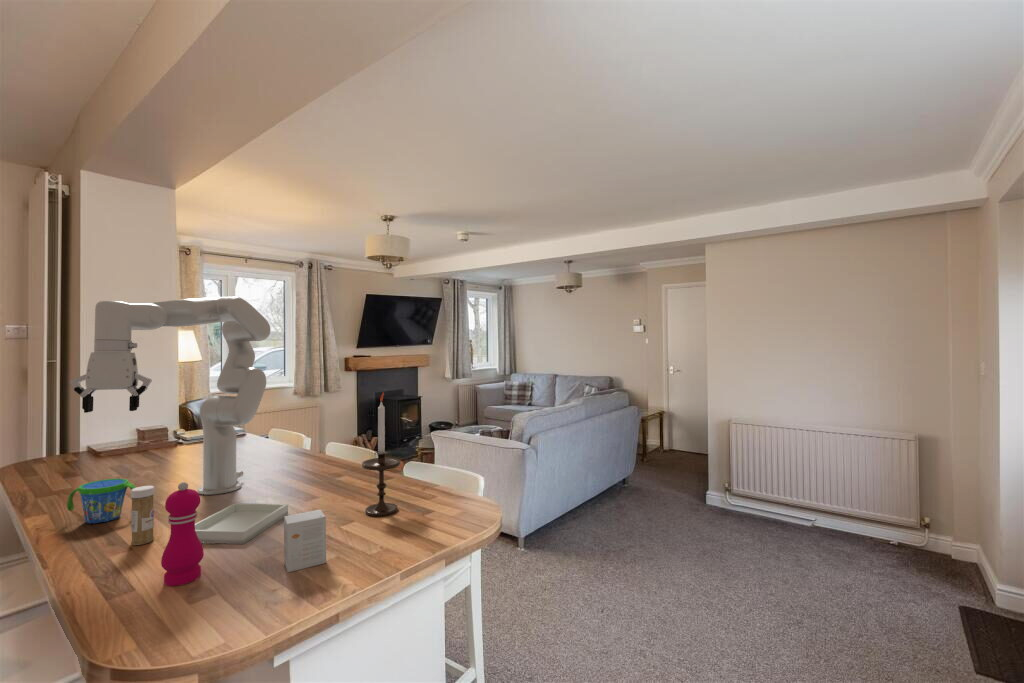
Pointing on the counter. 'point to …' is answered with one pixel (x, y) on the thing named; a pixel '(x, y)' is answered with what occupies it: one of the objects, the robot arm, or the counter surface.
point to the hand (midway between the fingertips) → (111, 411)
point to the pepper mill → (182, 538)
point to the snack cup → (101, 499)
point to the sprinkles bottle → (142, 515)
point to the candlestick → (381, 469)
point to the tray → (239, 522)
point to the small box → (304, 540)
